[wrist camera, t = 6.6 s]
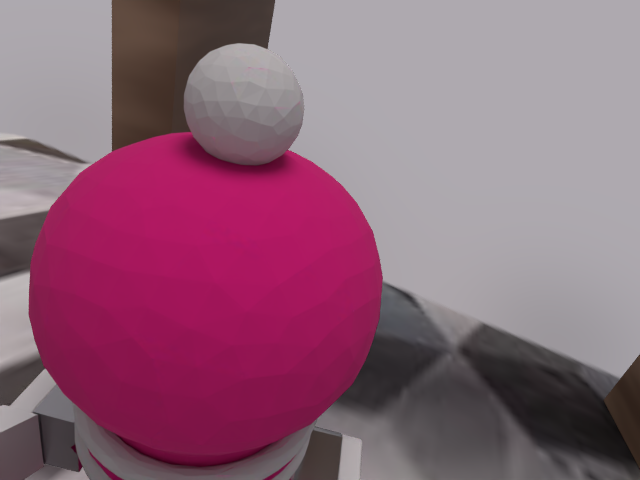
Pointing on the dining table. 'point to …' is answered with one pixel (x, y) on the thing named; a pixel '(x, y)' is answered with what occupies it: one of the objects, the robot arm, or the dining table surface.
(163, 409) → the pepper mill
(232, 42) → the arch
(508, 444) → the dining table surface
